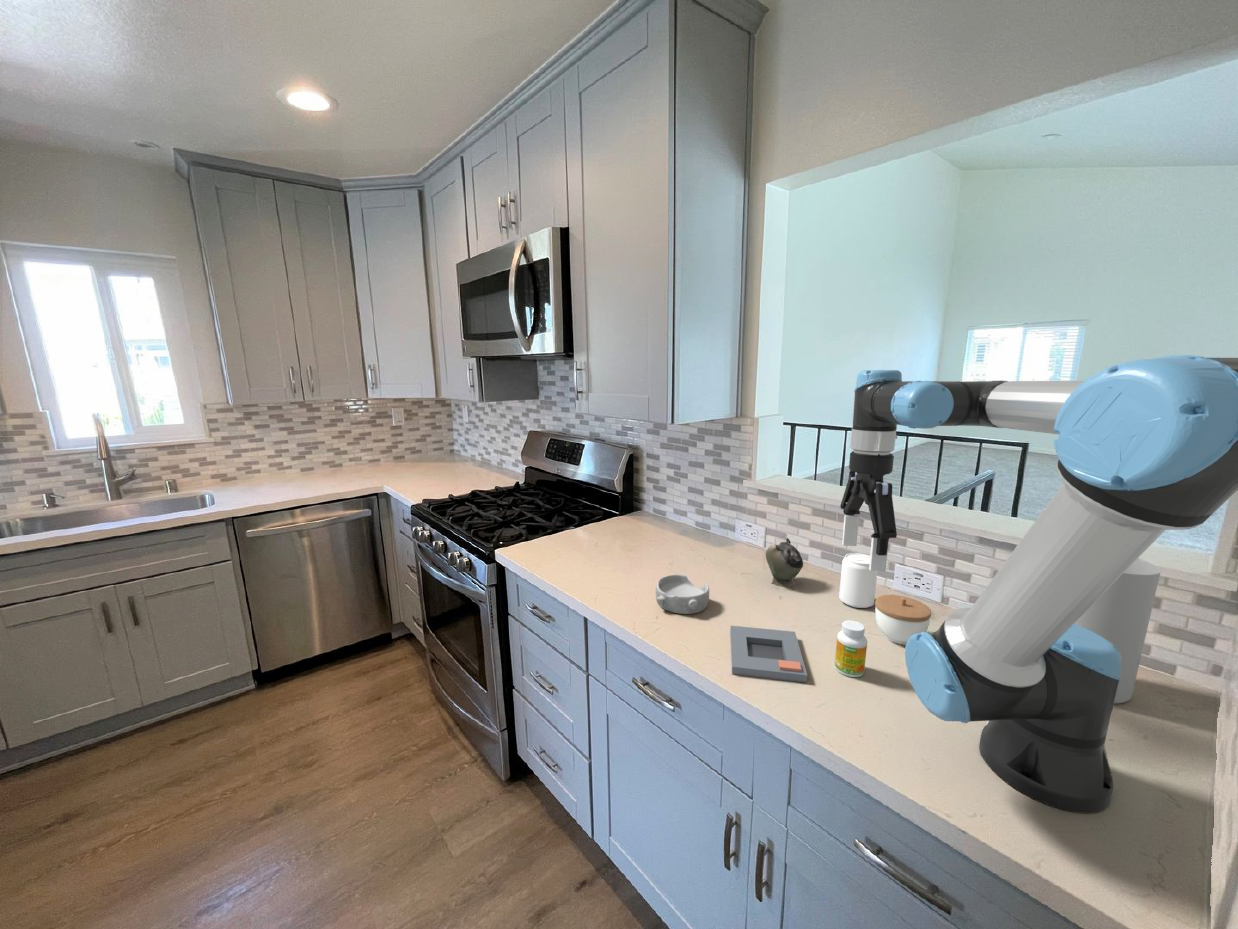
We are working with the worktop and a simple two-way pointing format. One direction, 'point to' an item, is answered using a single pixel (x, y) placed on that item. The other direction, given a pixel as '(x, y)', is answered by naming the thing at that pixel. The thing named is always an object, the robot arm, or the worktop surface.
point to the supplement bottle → (851, 649)
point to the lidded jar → (901, 617)
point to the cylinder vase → (1125, 619)
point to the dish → (681, 595)
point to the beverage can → (857, 581)
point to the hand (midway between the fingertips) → (862, 557)
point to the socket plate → (766, 654)
